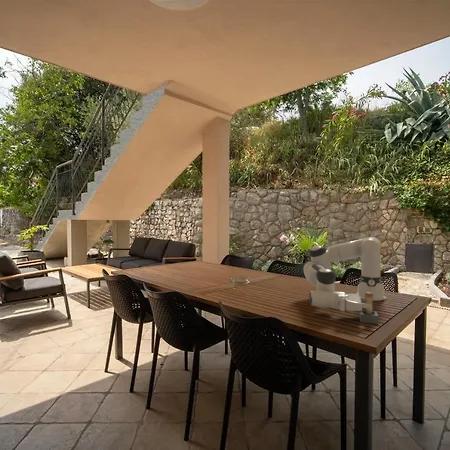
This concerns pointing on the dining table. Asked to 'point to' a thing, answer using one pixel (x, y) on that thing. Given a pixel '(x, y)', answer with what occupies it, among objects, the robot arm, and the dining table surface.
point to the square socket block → (368, 317)
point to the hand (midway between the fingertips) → (370, 303)
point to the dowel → (369, 300)
